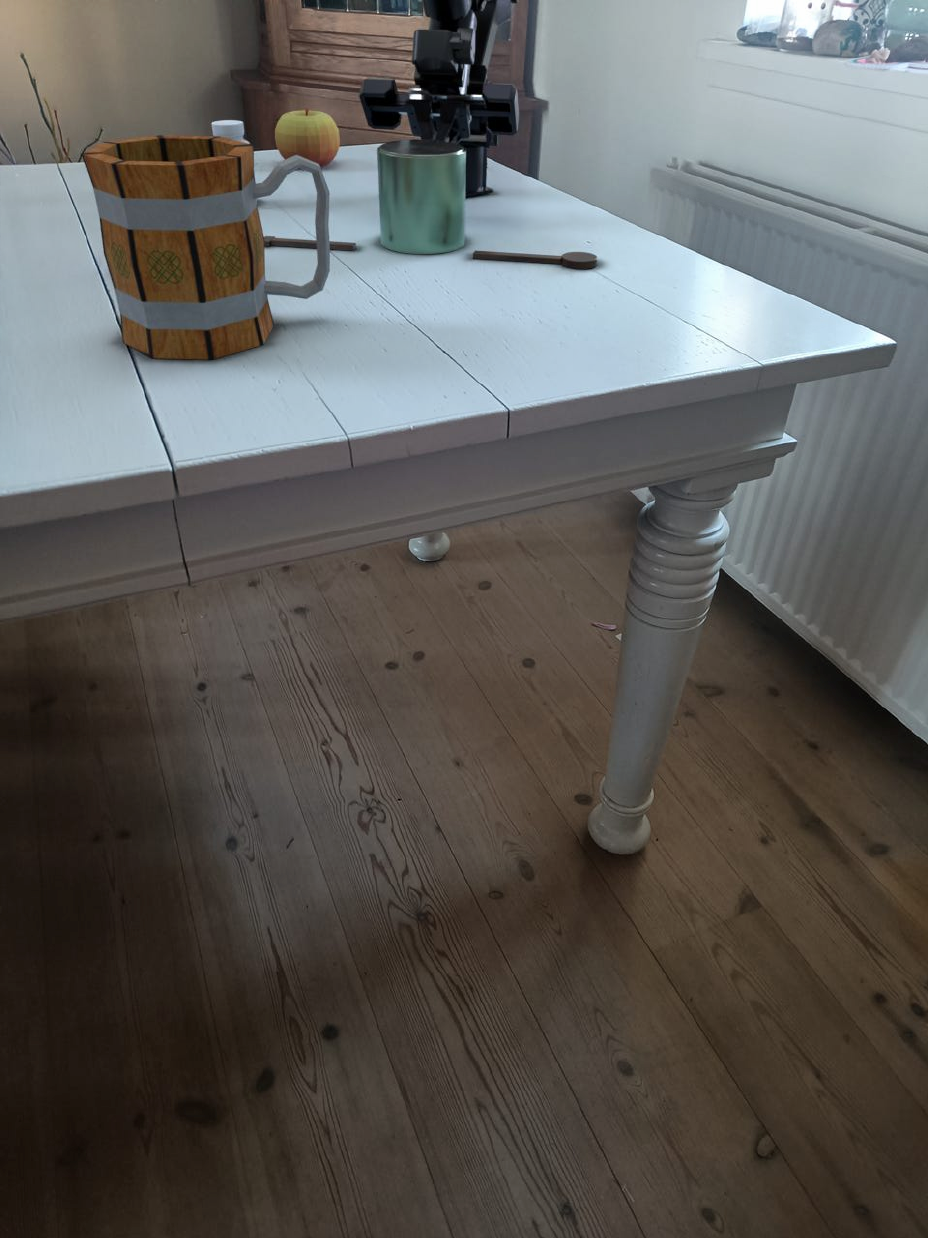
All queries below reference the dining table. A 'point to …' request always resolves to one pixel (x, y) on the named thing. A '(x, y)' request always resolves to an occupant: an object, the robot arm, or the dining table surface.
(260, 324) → the mug
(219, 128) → the pill bottle
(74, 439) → the dining table surface
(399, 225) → the can
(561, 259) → the spoon
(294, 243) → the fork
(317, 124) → the apple
